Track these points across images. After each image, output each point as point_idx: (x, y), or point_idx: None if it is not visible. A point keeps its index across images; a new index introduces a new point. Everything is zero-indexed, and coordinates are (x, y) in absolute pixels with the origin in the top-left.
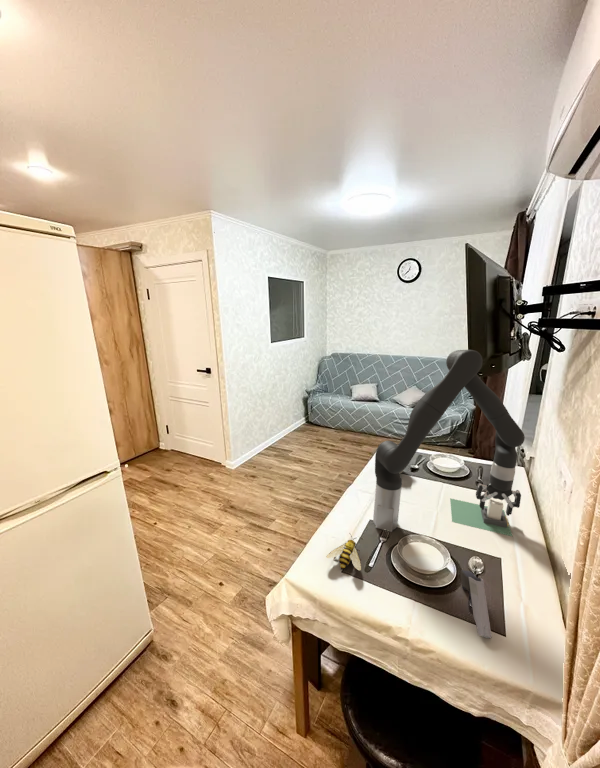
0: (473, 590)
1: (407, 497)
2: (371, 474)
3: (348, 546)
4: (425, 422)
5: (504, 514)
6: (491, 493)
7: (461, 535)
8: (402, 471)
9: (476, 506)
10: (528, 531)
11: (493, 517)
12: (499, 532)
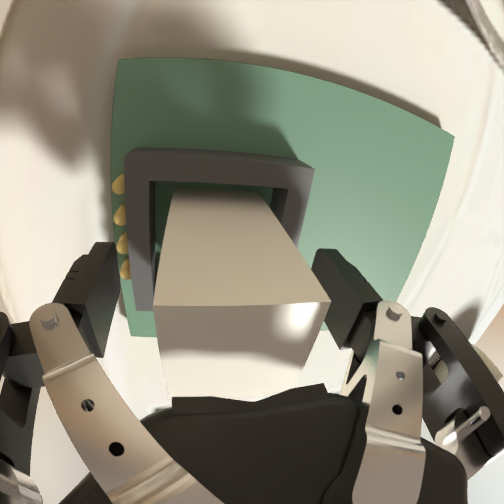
0: None
1: (484, 265)
2: (488, 321)
3: None
4: None
5: (129, 300)
6: (417, 441)
7: (424, 53)
8: (445, 367)
9: None
10: (22, 202)
11: (230, 204)
12: (209, 68)
